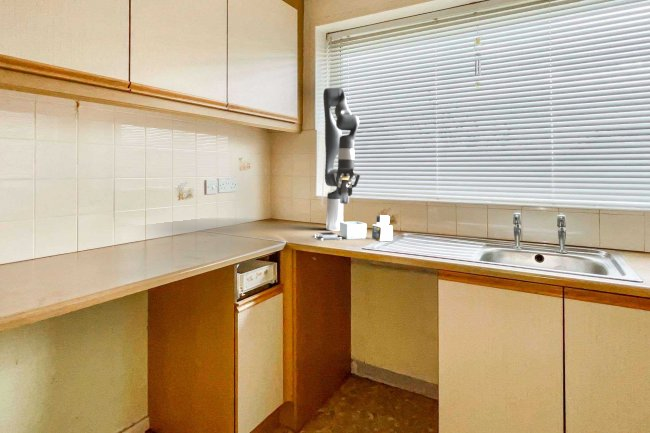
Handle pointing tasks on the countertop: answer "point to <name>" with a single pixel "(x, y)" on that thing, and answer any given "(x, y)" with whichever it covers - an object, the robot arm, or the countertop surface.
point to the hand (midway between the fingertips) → (344, 195)
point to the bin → (353, 230)
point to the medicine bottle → (382, 229)
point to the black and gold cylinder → (344, 190)
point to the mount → (327, 236)
